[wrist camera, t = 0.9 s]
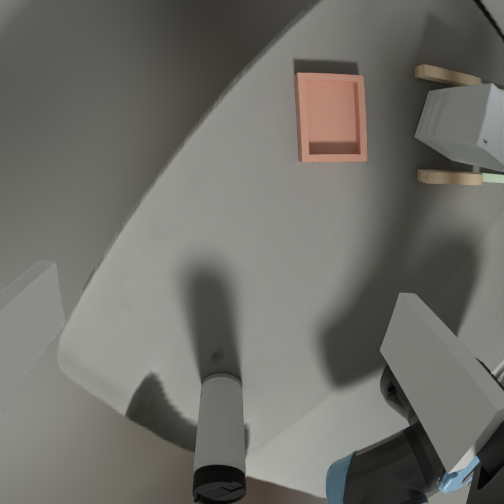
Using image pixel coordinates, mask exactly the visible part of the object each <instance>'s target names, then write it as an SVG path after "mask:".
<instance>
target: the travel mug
mask: <svg viewBox="0 0 504 504" xmlns="http://www.w3.org/2000/svg"><path fill="white" fill-rule="evenodd" d="M245 481H246V466H245V443H244V419H243V394H242V384H241V382H240V380H239V379H238V378H236V377H235V376H233V375H231V374H227V373H215V374H212V375H210V376H208V377H206V378H205V379H204V381H203V383H202V388H201V398H200V408H199V418H198V428H197V439H196V450H195V462H194V481H193V497H194V502H196V503H198V504H232V503H235V502H237V501H240V500H241V499H243V498H244V497H245V495H246V482H245Z"/></svg>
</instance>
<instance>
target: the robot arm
mask: <svg viewBox="0 0 504 504" xmlns="http://www.w3.org/2000/svg"><path fill="white" fill-rule="evenodd" d="M64 325H65V319H64V313H63V308H62V302H61V295H60V289H59V282H58V275H57V267H56V262H52V261H44V260H40V261H39V262H37V263H36V264H35V265H33V266H32V267H31V268H30V269H28V270H27V271H26V272H24V273H23V274H22V275H21V276H20V277H18V278H17V279H16V280H14V281H13V282H12V283H11V284H10V285H8V286H7V287H6V288H5V289H3V290H2V291H1V292H0V417H1V416H2V414H3V413H4V411H5V409H6V408H7V406H8V405H9V403H10V401H11V400H12V398H13V397H14V395H15V394H16V392H17V391H18V389H19V388H20V386H21V385H22V383H23V382H24V380H25V379H26V377H27V376H28V374H29V373H30V372H31V370H32V369H33V367H34V366H35V365H36V363H37V362H38V360H39V359H40V358H41V356H42V355H43V353H44V352H45V351H46V349H47V348H48V346H49V345H50V344H51V342H52V341H53V340H54V338H55V337H56V336H57V335H58V333H59V332H60V331H61V329H62V328H63V327H64ZM380 352H381V353H382V355H383V357H384V358H385V360H386V362H387V363H388V367H387V368H386V370H385V372H384V374H383V376H382V379H381V384H380V388H381V392H382V394H383V396H384V398H385V400H386V402H387V403H388V404H389V405H390V406H391V407H392V408H393V409H394V410H396V411H397V412H398V413H399V414H400V415H402V416H403V417H404V418H405V419H406V420H407V421H408V423H409V425H410V426H409V427H407V428H405V429H403V430H401V431H399V432H397V433H395V434H393V435H391V436H389V437H387V438H385V439H383V440H381V441H379V442H377V443H375V444H373V445H370V446H368V447H366V448H363V449H361V450H359V451H354V452H352V453H351V454H350V455H348V456H346V457H344V458H342V459H339V460H337V461H335V462H334V463H333V464H332V465H331V466H330V467H329V469H328V472H327V476H326V495H327V501H328V504H429V502H428V500H427V497H426V494H427V493H429V492H431V491H433V490H435V489H437V488H439V489H440V491H442V492H443V493H449V492H452V491H454V490H455V489H458V488H460V487H462V486H464V485H465V484H466V483H468V482H469V481H471V480H472V481H471V482H470V483H469V484H468V486H470V491H469V495H468V498H467V502H466V504H504V387H503V386H502V384H501V383H500V382H497V378H496V377H495V376H494V375H493V374H491V371H490V370H489V369H488V368H487V367H486V366H485V364H484V363H483V362H481V361H480V360H478V359H477V358H476V357H474V356H473V355H472V353H471V352H470V351H469V350H468V349H467V348H466V347H465V346H464V344H463V343H462V342H461V341H460V340H459V339H458V338H457V337H456V336H455V335H454V334H453V332H452V331H451V330H450V329H449V328H448V327H447V326H446V325H445V324H444V323H443V322H442V321H441V320H440V319H439V317H438V316H437V315H436V314H435V313H434V312H433V311H432V310H431V309H430V308H429V307H428V306H427V305H426V304H425V303H424V302H423V301H422V300H421V299H420V298H419V297H418V296H417V295H416V294H415V293H399V296H398V299H397V302H396V305H395V308H394V311H393V314H392V317H391V320H390V323H389V326H388V329H387V332H386V335H385V337H384V340H383V343H382V345H381V348H380Z"/></svg>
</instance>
